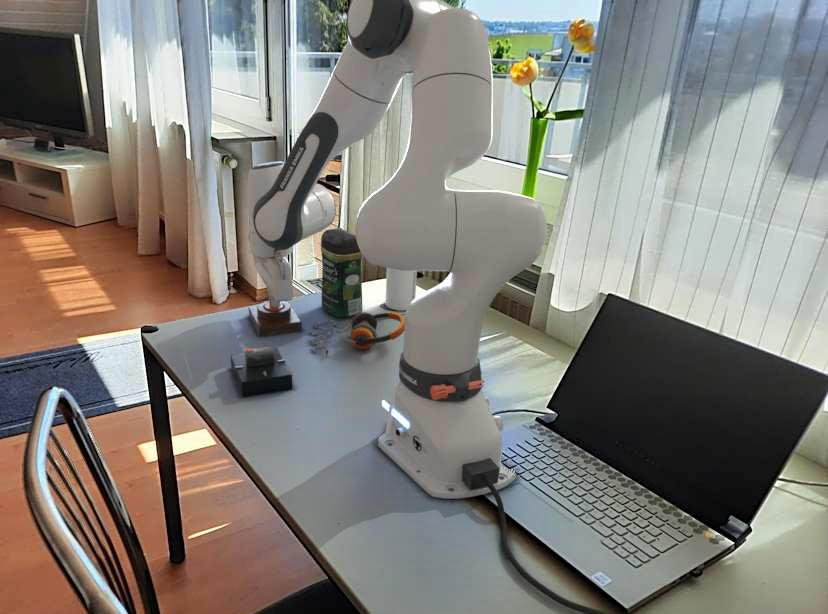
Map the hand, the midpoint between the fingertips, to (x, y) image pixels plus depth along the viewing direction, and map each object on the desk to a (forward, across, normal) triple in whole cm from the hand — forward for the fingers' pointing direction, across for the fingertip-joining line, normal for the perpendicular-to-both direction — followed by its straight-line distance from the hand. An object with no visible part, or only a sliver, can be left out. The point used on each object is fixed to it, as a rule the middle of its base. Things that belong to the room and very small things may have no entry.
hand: (274, 305), depth 139 cm
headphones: (+4, -14, -14) cm, 20 cm away
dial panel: (+4, -23, +8) cm, 25 cm away
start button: (+2, 0, 0) cm, 2 cm away
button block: (+4, 0, 0) cm, 4 cm away
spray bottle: (+4, +1, -30) cm, 30 cm away
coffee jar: (+4, +2, -16) cm, 17 cm away
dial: (+1, -23, +8) cm, 25 cm away
